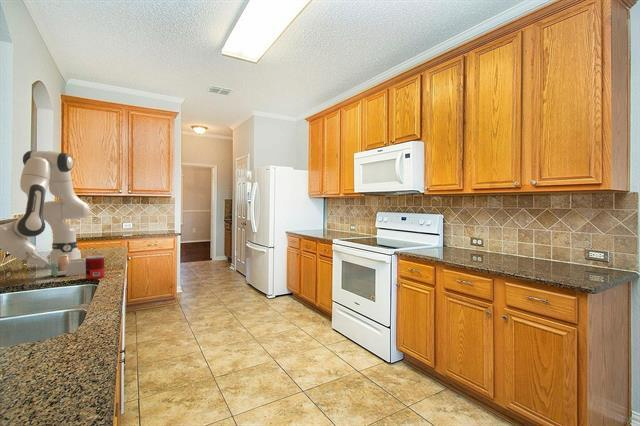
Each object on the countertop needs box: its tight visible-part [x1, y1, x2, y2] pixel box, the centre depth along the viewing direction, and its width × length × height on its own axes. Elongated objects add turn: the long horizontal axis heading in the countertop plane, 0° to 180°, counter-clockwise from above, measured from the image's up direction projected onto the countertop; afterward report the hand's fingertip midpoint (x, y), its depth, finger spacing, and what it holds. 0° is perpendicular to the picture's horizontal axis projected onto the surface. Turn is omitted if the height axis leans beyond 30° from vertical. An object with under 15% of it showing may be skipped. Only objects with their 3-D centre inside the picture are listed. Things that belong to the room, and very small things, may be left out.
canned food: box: [85, 254, 105, 280], centre depth 168 cm, size 8×8×11 cm
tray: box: [50, 261, 66, 278], centre depth 174 cm, size 9×10×7 cm
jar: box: [57, 254, 69, 272], centre depth 174 cm, size 5×5×9 cm
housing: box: [64, 257, 86, 277], centre depth 177 cm, size 11×10×7 cm
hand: (51, 268), depth 170 cm, fingers closed, pressing on tray
